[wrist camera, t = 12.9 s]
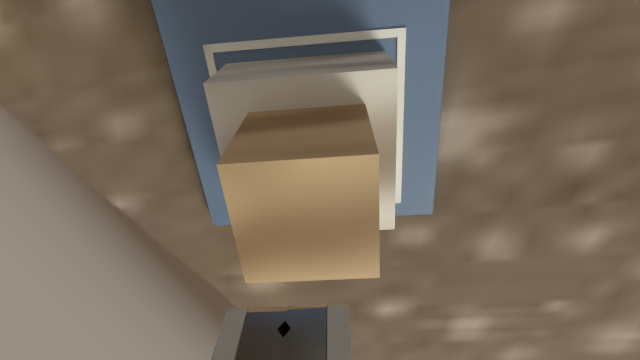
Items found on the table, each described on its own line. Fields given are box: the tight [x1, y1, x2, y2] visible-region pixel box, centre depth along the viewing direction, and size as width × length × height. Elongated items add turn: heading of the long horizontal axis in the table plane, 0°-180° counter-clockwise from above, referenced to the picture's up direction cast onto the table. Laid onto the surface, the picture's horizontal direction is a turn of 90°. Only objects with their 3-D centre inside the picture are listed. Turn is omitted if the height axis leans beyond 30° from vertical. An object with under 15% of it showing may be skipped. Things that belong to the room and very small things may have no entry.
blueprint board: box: [151, 0, 450, 226], centre depth 18 cm, size 22×14×1 cm, turn 5°
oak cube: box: [216, 104, 380, 283], centre depth 14 cm, size 5×5×5 cm
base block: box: [203, 51, 398, 230], centre depth 18 cm, size 8×8×4 cm
